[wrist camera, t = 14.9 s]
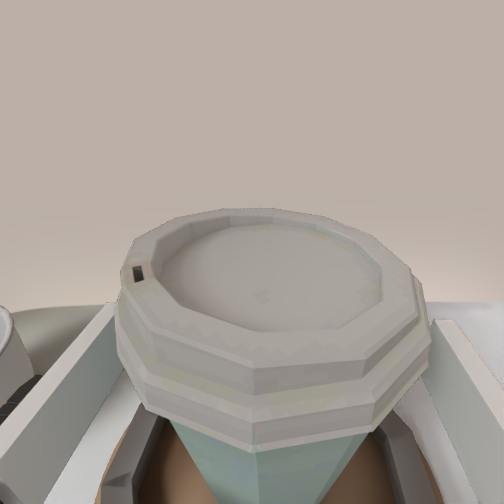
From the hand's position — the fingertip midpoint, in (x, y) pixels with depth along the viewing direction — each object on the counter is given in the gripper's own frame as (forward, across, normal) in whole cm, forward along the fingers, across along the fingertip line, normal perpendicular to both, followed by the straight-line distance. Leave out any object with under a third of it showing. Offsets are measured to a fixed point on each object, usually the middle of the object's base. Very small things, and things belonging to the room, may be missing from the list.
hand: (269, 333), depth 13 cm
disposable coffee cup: (-1, 0, -10) cm, 10 cm away
